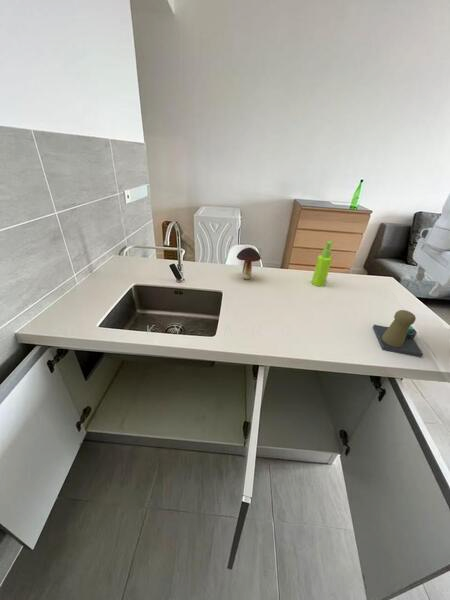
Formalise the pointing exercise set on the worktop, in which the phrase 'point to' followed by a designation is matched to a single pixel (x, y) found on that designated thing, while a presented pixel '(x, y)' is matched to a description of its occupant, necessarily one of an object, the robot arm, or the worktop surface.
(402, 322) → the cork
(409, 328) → the power button
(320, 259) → the soap dispenser
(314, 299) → the worktop surface
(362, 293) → the worktop surface
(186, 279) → the worktop surface
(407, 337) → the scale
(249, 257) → the decorative mushroom
